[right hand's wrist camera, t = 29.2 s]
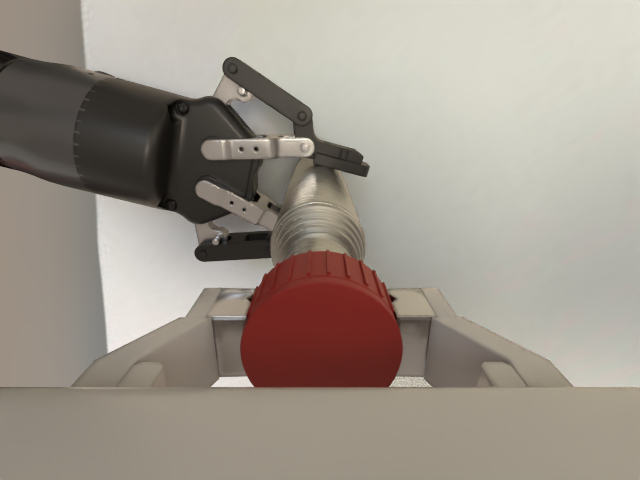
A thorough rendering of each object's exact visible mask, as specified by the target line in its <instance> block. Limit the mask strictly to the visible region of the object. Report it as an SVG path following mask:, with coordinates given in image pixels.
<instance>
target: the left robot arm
mask: <svg viewBox="0 0 640 480" xmlns="http://www.w3.org/2000/svg"><path fill="white" fill-rule="evenodd" d="M223 72H224V75H223V77H222V79H221V81H220V83H219V85H218V87H217V89H216V91H215V93H214V95H213V96H206V97H202V98H198V99H192V98H188V97H184V96H181V95H177V94H173V93H170V92H166V91H163V90H159V89H155V88H152V87H148V86H144V85H141V84H137V83H134V82H130V81H126V80H122V79H119V78H115V77H114V76H112V75H109V74H107V73H104V72H100V71H90V70H86V69H83V68H79V67H75V66H71V65H65V64H57V63H49V62H43V61H38V60H33V59H30V58H26V57H22V56H19V55H15V54H11V53H8V52H4V51H1V50H0V166H2V167H6V168H10V169H14V170H19V171H22V172H25V173H28V174H31V175H34V176H36V177H39V178H41V179H44V180H47V181H49V182H53V183H56V184H60V185H63V186H67V187H71V188H76V189H80V190H84V191H88V192H92V193H96V194H100V195H104V196H108V197H112V198H116V199H121V200H125V201H129V202H133V203H137V204H141V205H145V206H149V207H154V208H158V209H163V210H169V211H174V212H176V213H179V214H180V215H182V216H183V217H185V218H186V219H187V220H188V221H190V222H192V223H194V224H195V227H196V232H197V237H198V242H199V246H198V247H197V248H196V249H195V257H196V258H197V259H198V260H200V261H203V262H207V261H225V260H242V259H260V258H271V250H270V240H271V235H272V231H273V229H274V226H275V223H276V220H277V217H278V215H279V212H280V209H281V205H279V204H277V203H275V202H273V201H272V200H271V199H270V198H269V197H268V196H266V195H265V194H263V193H261V192H259V191H257V187H258V176H257V173H258V170H259V168H260V167H261V165H262V162H263V159H274V158H284V157H306V158H309V159H313V163H314V164H317V165H321V166H326V167H329V168H333V169H336V170H340V171H344V172H348V173H351V174H355V175H359V176H363V177H367V174H368V171H369V168H370V166H369V165H368V164H367V163H365V162H362V160H363V156H362V155H361V154H360V153H359V152H358V151H356V150H355V149H352V148H348V147H345V146H341V145H337V144H334V143H330V142H326V141H323V140H320V139H318V138H317V137H316V136H315V134H314V131H313V121H312V111H311V109H310V108H309V107H308V106H306V105H305V104H303V103H302V102H300V101H299V100H297V99H296V98H295V97H293V96H292V95H290V94H289V93H287V92H286V91H284V90H283V89H282V88H280V87H279V86H277V85H276V84H274V83H273V82H271V81H270V80H269V79H267V78H266V77H264V76H263V75H261V74H260V73H258V72H257V71H256V70H254V69H253V68H251V67H250V66H248V65H247V64H245V63H244V62H242V61H241V60H239V59H237V58H235V57H229V58H227V59H226V60H225V61H224V63H223ZM255 97H257V98H258V99H260V100H261V101H263V102H264V103H266V104H267V105H269V106H270V107H272V108H273V109H275V110H276V111H278V112H279V113H281V114H282V115H284V116H285V117H287V118H288V119H289V120H291V121H292V122H293V127H294V135H255V134H254V133H253V132H252V130H251V129H250V128H249V127H248V126H247V125H246V123H245V122H244V121H243V120H242V119H241V117H240V116H239V115H238V114H237V113H236V112H235V110H234V109H233V108H232V107H231V106H230V103H231V102H232V101H234V100H239V101H241V102H250V101H252V100H253V99H254V98H255ZM253 198H254V199H253ZM244 208H246V209H244ZM231 213H233V214H235V215H237V216H239V217H241V218H243V219H245V220H246V221H248V222H250V223H252V224H255V225H261V226H263V227H265V228H267V229H269V230H271V231H257V232H240V233H229V231H228V230H227V229H226V228H225V227H219V226H216V225H215V224H214V223H213V222H212V221H213V220H215V219H218V218H221V217H223V216H226V215H228V214H231Z"/></svg>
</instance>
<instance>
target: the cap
mask: <svg viewBox="0 0 640 480" xmlns="http://www.w3.org/2000/svg"><path fill="white" fill-rule="evenodd" d="M394 311H395V310H394V308H393V305H392V302H391V299H390V297H389V294H388V291H387V289H386V286H385V284H384V282H383V283H381V281H380V280H379V278H378V277H377V274H376V272H375V271H374V270H373V271H372V270H371V269H370V268H368V267H367V266H366V265H365V264H363V261H362V260H360V261H358V260H357V259H355V258H352V257H350V256H348V255H347V254H346V253H344V254H341V253H337V252H330V251H329V250H326V251H313V252H312V251H311V250H309V251H308V252H306V253H302V254H298V255H295V256H294V255H291V257H290V258H288V259H286V260H284V261H283V262H281V263H280V264H279V262H278V263H276V266H275V267H274V268H273V269H272V270H271V271H270V272H269V273H268V274H266V273H265V275H264V277H263V280H262V282H261V284H260V285H259V287H256V289H255V292H254V295H253V297H252V300H251V303H250V306H249V309H248V311H247V314H246V315H247V316H248V318H247V322H246V324H245V327H244V330H243V333H242V337H241V344H240V354H241V360H242V365H243V368H244V370H245V373H246V375H247V377H248V378H249V380H250V382H251V383H252V384H253V386H254V387H389V386H390V385H391V383H392V382H393V380H394V379H395V377H396V375H397V373H398V370H399V368H400V364H401V361H402V354H403V342H402V337H401V333H400V330H399V327H398V324H397V321H396V319H395V316H394V313H393V312H394Z"/></svg>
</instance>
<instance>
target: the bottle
mask: <svg viewBox="0 0 640 480" xmlns="http://www.w3.org/2000/svg"><path fill="white" fill-rule="evenodd" d="M365 245H366V244H365V236H364V232H363V229H362V227H361V224H360V221H359V219H358V216H357V213H356V210H355V208H354V205H353V202H352V200H351V197H350V194H349V191H348V189H347V186H346V183H345V180H344V178H343V175H342V172H341V171H340V170H336V169H333V168H329V167H326V166H321V165H317V164H314V163H313V159H309V158H306V157H302V158H301V159H300V160H299V162H298V163H297V165H296V168H295V171H294V173H293V176H292V179H291V182H290V184H289V187H288V190H287V193H286V195H285V198H284V201H283V204H282V206H281V209H280V212H279V215H278V217H277V220H276V223H275V226H274V229H273V231H272V235H271V240H270V250H271V258H272V262H273V265H274V267H275V266H276V263H278V262H279V264H280V263H281V262H283V261H284V260H286V259H288V258H290V257H291V255H294V256H295V255H298V254H302V253H306V252H308V251H309V250H311V251H312V252H313V251H326V250H329V251H330V252H337V253H341V254H344V253H346V254H347V255H348V256H350V257H352V258H355V259H357V260H358V261H360V260H362V261H364V257H365Z"/></svg>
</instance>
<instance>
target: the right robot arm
mask: <svg viewBox="0 0 640 480" xmlns="http://www.w3.org/2000/svg"><path fill="white" fill-rule="evenodd" d="M387 291H388V294H389V297H390V299H391V302H392V305H393V308H394V310H395V311H394V312H393V313H394V316H395V319H396V321H397V324H398V327H399V330H400V333H401V337H402V342H403V354H402V361H401V364H400V368H399V370H398V373H397V375H396V376H404V377H424V379H425V380H426V381H427V382H428V383H429V384H430V385H431V386H432V387H211V386H212V385H213V384H214V383H215V382H216V381H217V380H218V379H219V377H238V376H247V375H246V373H245V370H244V368H243V365H242V360H241V354H240V344H241V337H242V333H243V330H244V327H245V324H246V322H247V318H248V316H247V315H246V314H247V311H248V309H249V306H250V303H251V300H252V297H253V295H254V292H255V289H239V288H205V289H204V290H203V291H202V293H201V294H200V296H199V297H198V299H197V300H196V302H195V303H194V305H193V306H192V308H191V309H190V311H189V312H188V314H187V315H186V317H182V318H178V319H176V320H174V321H172V322H170V323H168V324H166V325H164V326H162V327H160V328H158V329H156V330H154V331H152V332H150V333H148V334H146V335H144V336H142V337H140V338H138V339H136V340H134V341H132V342H130V343H128V344H126V345H124V346H122V347H120V348H118V349H116V350H114V351H112V352H110V353H108V354H106V355H104V356H102V357H100V358H98V359H96V360H94V361H93V363H92V364H91V365H90V366H89V367H88V368H87V369H86V370H85V371H84V373H83V374H82V375H81V376H80V377H79V378H78V379H77V380H76V381H75V383H74V384H73V385H72V386H71V387H0V480H640V387H573V385H572V384H571V383H570V382H569V381H568V380H567V379H566V378H565V377H564V376H563V375H562V373H561V372H560V371H559V370H558V369H557V368H556V367H555V366H554V365H553V364H552V362H551V361H549V360H547V359H545V358H543V357H541V356H539V355H537V354H535V353H533V352H531V351H529V350H527V349H525V348H523V347H521V346H519V345H517V344H515V343H513V342H511V341H509V340H507V339H505V338H503V337H501V336H499V335H497V334H495V333H493V332H491V331H489V330H487V329H485V328H483V327H481V326H479V325H477V324H475V323H473V322H471V321H469V320H467V319H465V318H461V317H457V315H456V314H455V312H454V311H453V310H452V308H451V307H450V305H449V304H448V302H447V301H446V299H445V298H444V296H443V295H442V293H441V292H440V290H439V289H437V288H403V289H387Z"/></svg>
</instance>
